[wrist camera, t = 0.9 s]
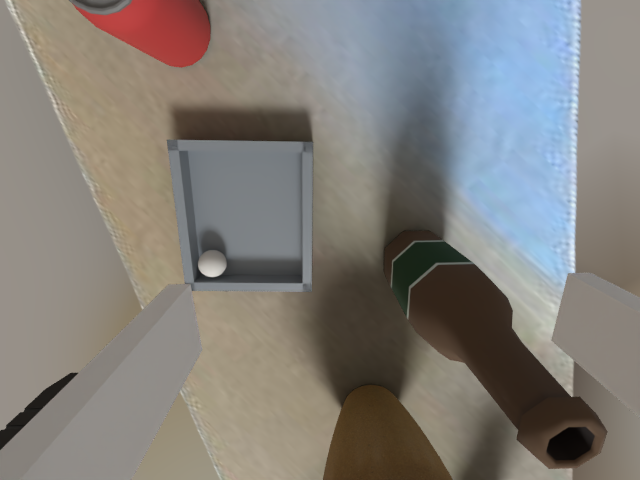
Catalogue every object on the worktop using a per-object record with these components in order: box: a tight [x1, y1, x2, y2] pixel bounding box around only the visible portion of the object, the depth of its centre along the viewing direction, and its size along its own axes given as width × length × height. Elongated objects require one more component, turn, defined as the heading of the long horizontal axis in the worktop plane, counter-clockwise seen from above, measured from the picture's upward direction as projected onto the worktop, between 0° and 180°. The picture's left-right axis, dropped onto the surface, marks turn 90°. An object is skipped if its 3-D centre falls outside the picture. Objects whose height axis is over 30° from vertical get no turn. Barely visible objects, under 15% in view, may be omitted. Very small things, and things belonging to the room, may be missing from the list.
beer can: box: [69, 0, 210, 67], centre depth 24 cm, size 7×7×12 cm
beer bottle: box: [384, 231, 607, 469], centre depth 25 cm, size 8×8×24 cm
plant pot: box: [323, 385, 453, 480], centre depth 36 cm, size 15×15×16 cm
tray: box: [167, 140, 313, 292], centre depth 33 cm, size 16×14×3 cm
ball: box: [198, 250, 227, 277], centre depth 34 cm, size 3×3×3 cm
